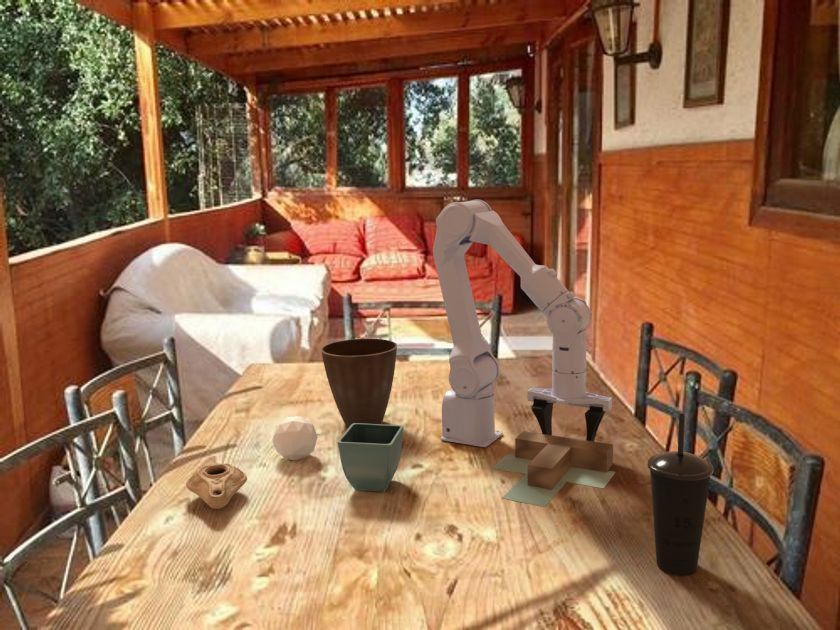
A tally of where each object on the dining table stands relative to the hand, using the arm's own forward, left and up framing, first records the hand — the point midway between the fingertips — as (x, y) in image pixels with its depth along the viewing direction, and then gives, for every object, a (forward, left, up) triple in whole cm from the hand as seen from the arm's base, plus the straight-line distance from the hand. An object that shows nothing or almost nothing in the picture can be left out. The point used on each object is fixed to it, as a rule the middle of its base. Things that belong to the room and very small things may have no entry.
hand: (568, 444), depth 131 cm
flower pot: (-24, -26, -2) cm, 35 cm away
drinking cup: (+24, -30, -2) cm, 38 cm away
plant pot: (-42, -2, -2) cm, 42 cm away
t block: (0, -8, -2) cm, 9 cm away
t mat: (0, -13, -2) cm, 13 cm away
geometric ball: (-43, -22, -2) cm, 48 cm away
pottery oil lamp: (-43, -42, -2) cm, 60 cm away
